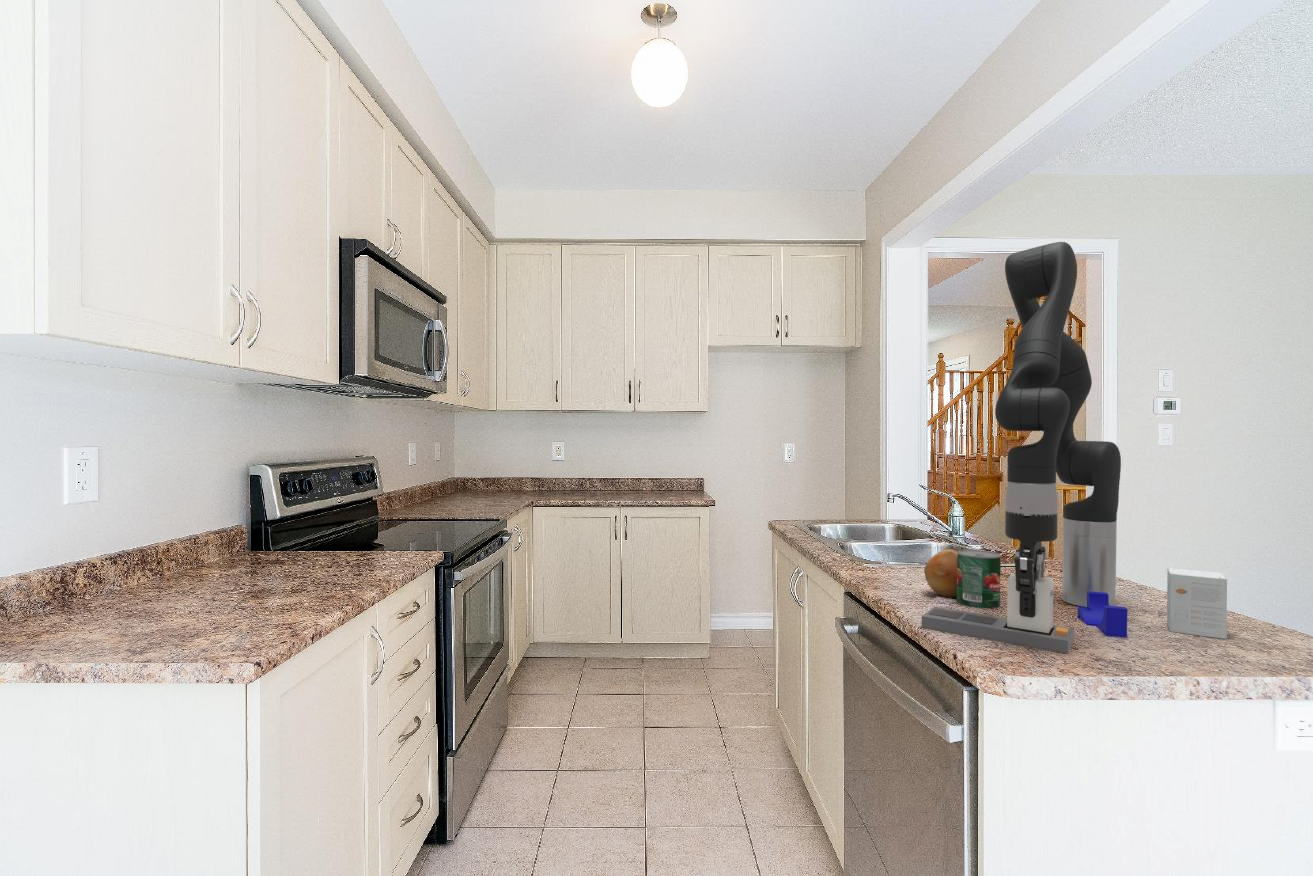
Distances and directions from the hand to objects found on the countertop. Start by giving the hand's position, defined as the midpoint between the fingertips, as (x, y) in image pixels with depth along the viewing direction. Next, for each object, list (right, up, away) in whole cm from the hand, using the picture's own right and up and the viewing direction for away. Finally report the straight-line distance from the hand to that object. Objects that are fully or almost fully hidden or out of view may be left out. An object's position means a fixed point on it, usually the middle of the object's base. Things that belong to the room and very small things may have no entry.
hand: (1030, 612), depth 111 cm
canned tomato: (+2, -5, +23) cm, 24 cm away
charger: (0, -2, 0) cm, 2 cm away
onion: (+1, -5, +32) cm, 33 cm away
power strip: (-4, -6, +3) cm, 8 cm away
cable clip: (+17, -6, +8) cm, 19 cm away
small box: (+34, -6, +8) cm, 35 cm away
